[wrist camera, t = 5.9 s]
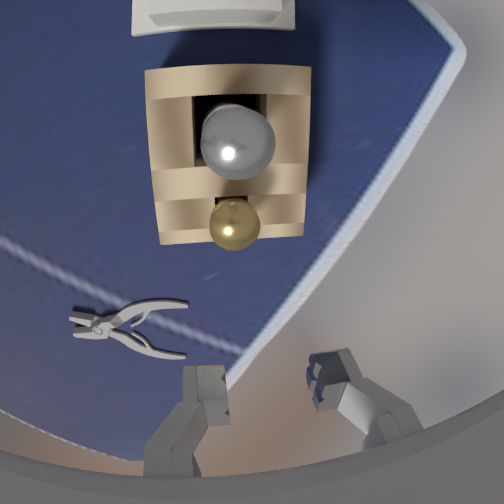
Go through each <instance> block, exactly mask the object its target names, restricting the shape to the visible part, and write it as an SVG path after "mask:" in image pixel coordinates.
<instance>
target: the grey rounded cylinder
mask: <svg viewBox="0 0 504 504" xmlns="http://www.w3.org/2000/svg"><path fill="white" fill-rule="evenodd" d="M275 147H276V139H275V134H274V131H273V128H272V126H271V125H270V123H269V122H268V121H267V119H266V118H265V117H263V116H262V115H261V114H259V113H258V112H256V111H254V110H251V109H249V108H246V107H244V106H241V105H238V104H236V103H233V102H228V101H224V102H219V103H216V104H214V105H213V106H211V107H210V108H209V109H208V111H207V112H206V114H205V116H204V120H203V127H202V135H201V152H202V156H203V158H204V161H205V162H206V164H207V165H208V167H209V168H210V169H211V170H212V171H213V172H215V173H216V174H218V175H219V176H221V177H224V178H227V179H232V180H243V179H248V178H251V177H253V176H255V175H257V174H259V173H260V172H262V171H263V170H264V169H265V168H266V167H267V166H268V164H269V163H270V162H271V160H272V158H273V155H274V152H275Z"/></svg>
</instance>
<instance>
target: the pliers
mask: <svg viewBox="0 0 504 504" xmlns="http://www.w3.org/2000/svg"><path fill="white" fill-rule="evenodd" d="M187 307H188V303H185V302H180V301H174V300H149V301H142V302H138V303H134V304H131V305H129V306H126V307H125V308H123V309H122V310H121V311H119V312H118V313H116V314H113V315H111V316H107V317H105V318H104V317H101V316H97V315H93V314H87V313H82V312H76V311H72V312H71V315H70V317H69V320H71V321H73V322H76V323H79V324H82V325H85V327H75V329H74V332H73V335H74V337H78V338H88V339H107V338H108V336H110V337H114V338H115V339H117V340H119V341H121V342H122V343H124V344H125V345H127V346H128V347H129V348H131V349H133V350H135V351H138V352H140V353H143V354H146V355H149V356H153V357H157V358H164V359H185V356H186V355H185V354H177V353H171V352H165V351H161V350H158V349H154V348H152V347H151V346H150V344H149V343H148V341H147V340H146V339H145V338H144V337H142V336H141V335H139V334H138V333H136V332H134V331H132V335H134V336H136V337H138V338H139V339H141V340H142V341H143V342H144V343H145V345H143V344H141V343H139V342H138V341H136V340H134V339H133V338H132V337H130V336H129V335H127V334H126V333H122V332H119V331H116V330H113V329H112V328H117V327H118V326H120V325H121V324H122V323H124V322H125V321H127V320H128V319H130V318H132V317H133V316H135V315H137V314H139V313H142V312H144V313H143V316H142V317H141V318H140V319H139V320H137V321H136V322H133V323H131V327H133V326H135V325H137V324H139V323H141V322H142V321H143V320H144V319H145V318H146V316H147V314H148V313H149V312H150V311H151V310H158V309H170V308H187ZM92 325H93V326H92Z"/></svg>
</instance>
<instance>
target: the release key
mask: <svg viewBox="0 0 504 504" xmlns="http://www.w3.org/2000/svg"><path fill="white" fill-rule="evenodd" d="M209 227H210V234H211V237H212V239H213V240H214V242H215V243H216V244H217V245H219V246H220V247H222V248H224V249H227V250H241V249H244V248H246V247H248V246H250V245H251V244H252V243H253V242H254V241H255V240H256V239H257V237H258V235H259V233H260V227H261V225H260V220H259V217H258V214H257V212H256V210H255V208H254V207H253V206H252V205H251V204H250V203H249V202H247V201H246V200H244V197H243V196H228V197H217V205H216V206H215V207H214V209H213V210H212V212H211V214H210V219H209Z"/></svg>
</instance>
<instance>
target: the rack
mask: <svg viewBox="0 0 504 504" xmlns="http://www.w3.org/2000/svg"><path fill="white" fill-rule="evenodd" d="M201 29H272V30H287V31H293V30H294V29H295V0H133V3H132V36H134V37H136V36H142V35H149V34H157V33H165V32H175V31H186V30H201Z"/></svg>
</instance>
